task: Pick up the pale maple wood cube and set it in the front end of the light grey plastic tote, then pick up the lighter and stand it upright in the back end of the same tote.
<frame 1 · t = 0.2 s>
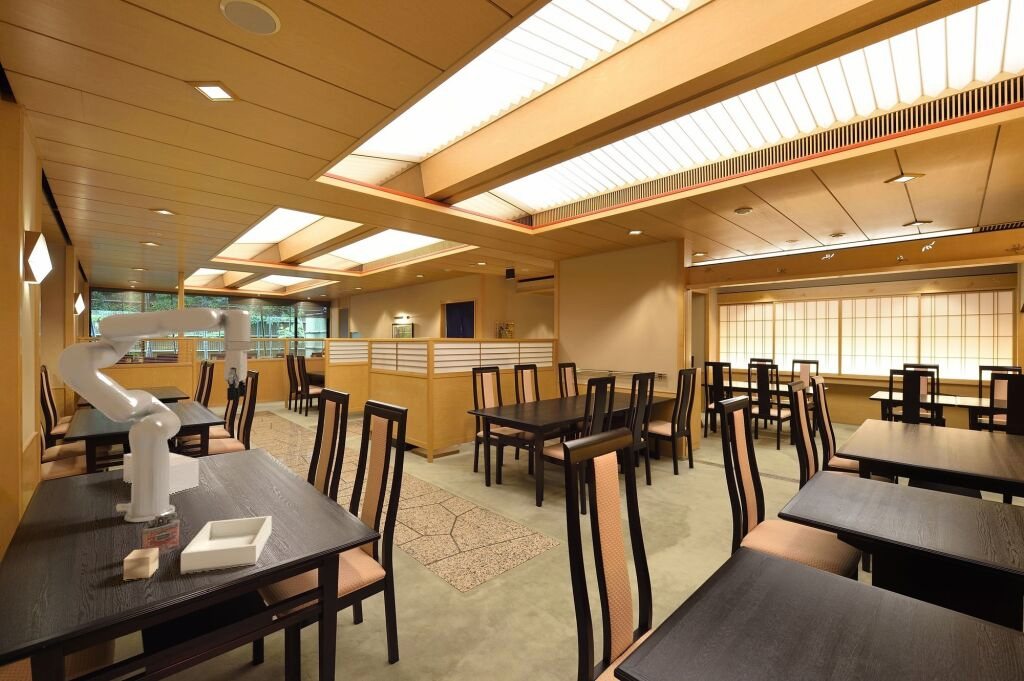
hand: (236, 398, 152), 37 cm above the table, tool pointing down, fingers open, 9 cm apart
tote: (230, 551, 121), on the table
white long block: (160, 485, 176), on the table
lighter: (161, 554, 120), on the table
cube: (141, 574, 110), on the table
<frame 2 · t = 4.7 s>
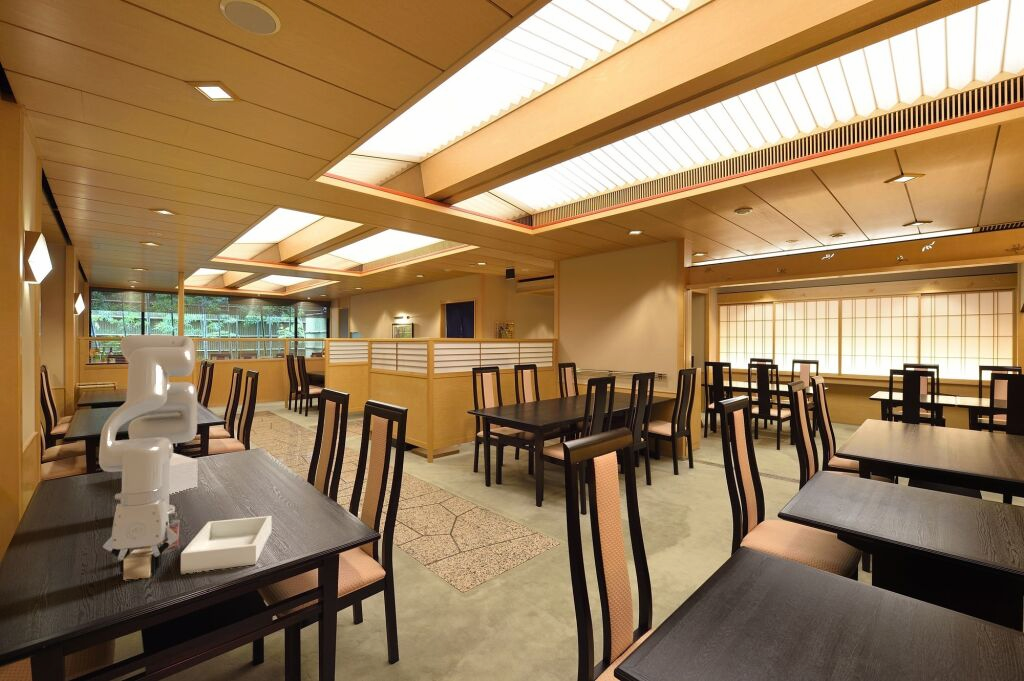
hand: (141, 571, 110), 1 cm above the table, tool pointing down, fingers closed on cube, 5 cm apart
cube: (141, 573, 110), on the table, touching gripper
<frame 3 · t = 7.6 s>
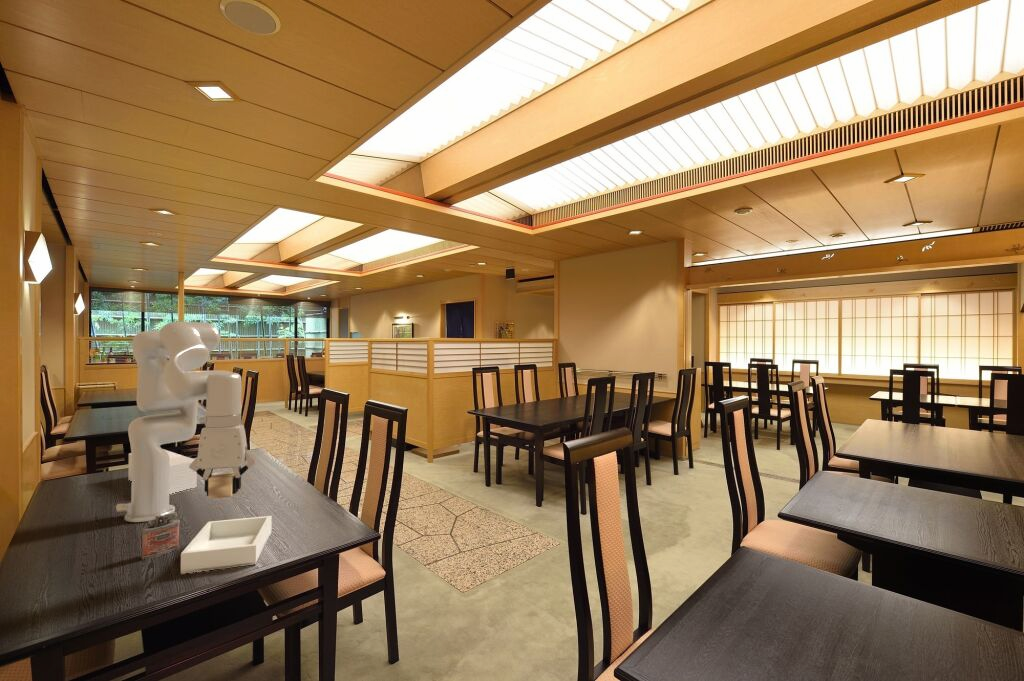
hand: (223, 492, 116), 18 cm above the table, tool pointing down, fingers closed on cube, 5 cm apart
cube: (222, 494, 116), point 17 cm above the table, touching gripper
everything else where it was.
when the fingers open (3 cm above the table, at t = 10.8 s): cube drops 1 cm, resting on tote.
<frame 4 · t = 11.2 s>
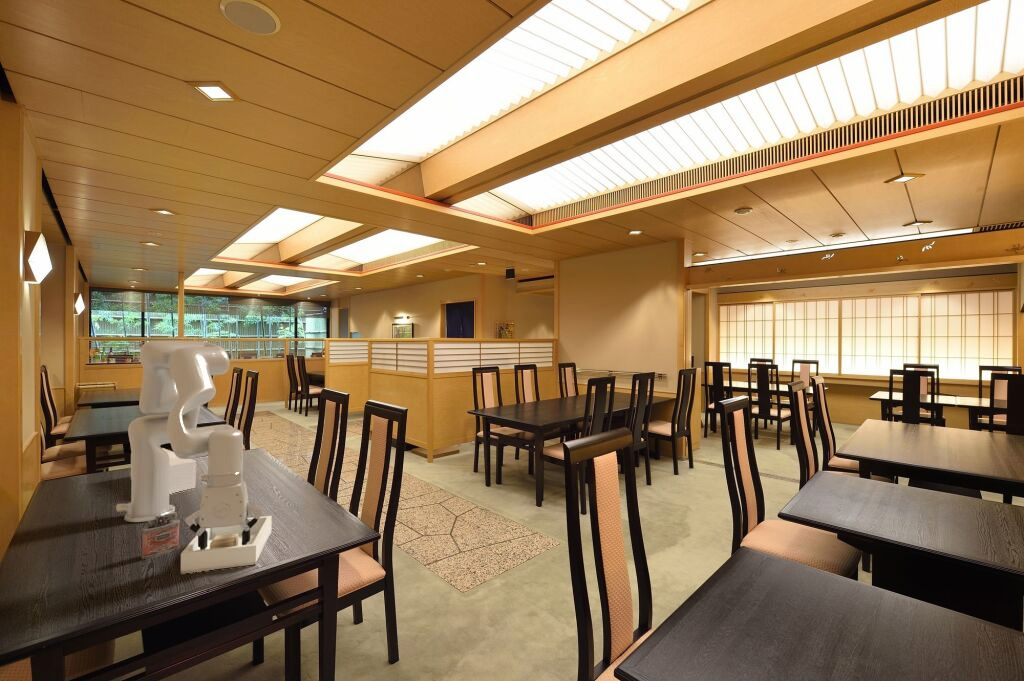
hand: (224, 546, 116), 4 cm above the table, tool pointing down, fingers open, 8 cm apart
cube: (224, 558, 116), point 1 cm above the table, touching tote
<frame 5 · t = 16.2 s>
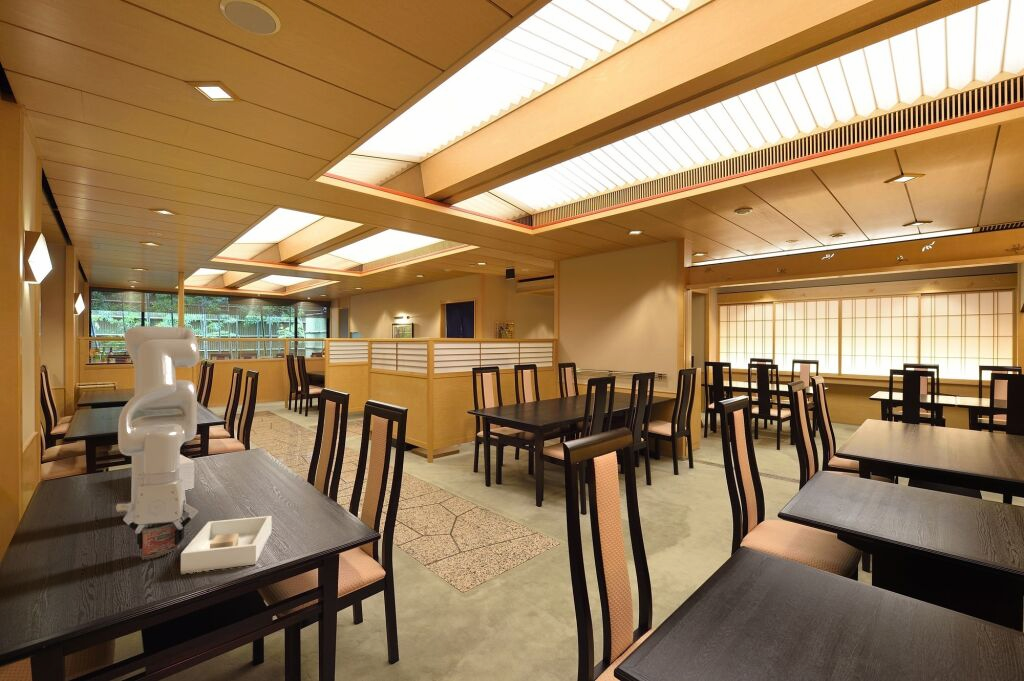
hand: (161, 544, 120), 2 cm above the table, tool pointing down, fingers closed on lighter, 7 cm apart
lighter: (161, 554, 120), on the table, touching gripper
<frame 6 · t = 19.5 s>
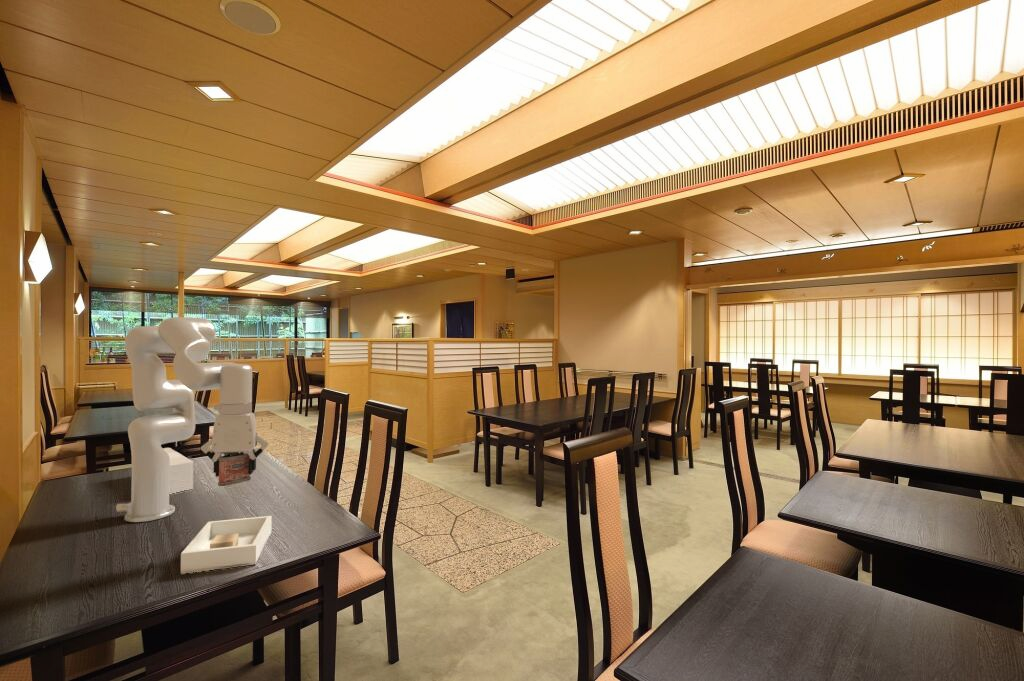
hand: (235, 473, 125), 20 cm above the table, tool pointing down, fingers closed on lighter, 7 cm apart
lighter: (234, 483, 125), point 17 cm above the table, touching gripper
when the fingers open (5 cm above the table, at t = 22.8 s): lighter drops 1 cm, resting on tote.
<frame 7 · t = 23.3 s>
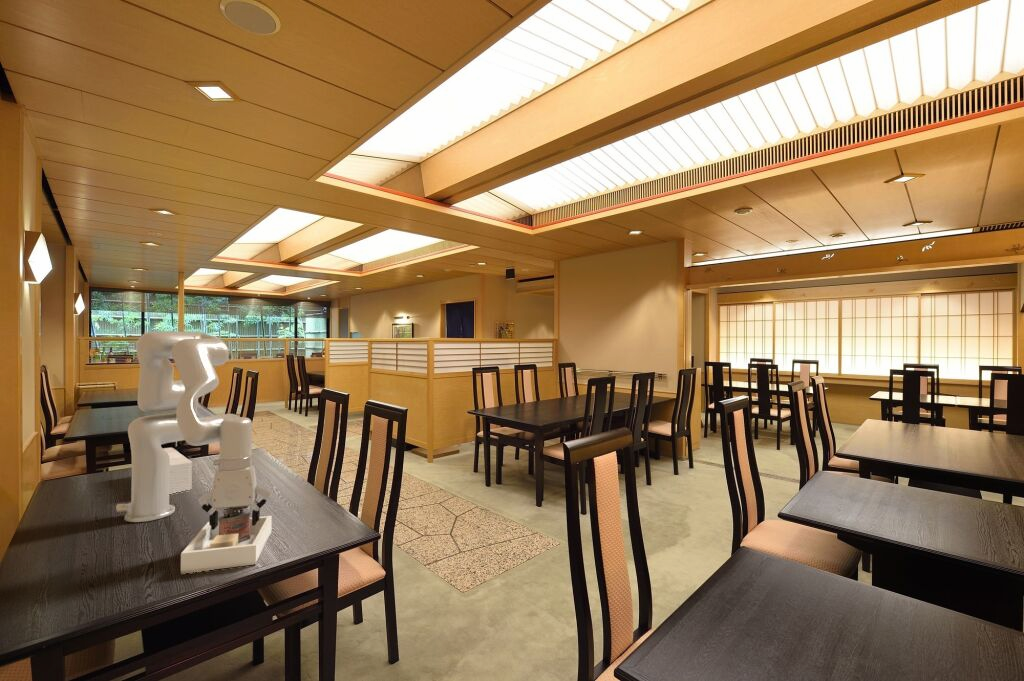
hand: (234, 525, 125), 5 cm above the table, tool pointing down, fingers open, 9 cm apart
lighter: (234, 542, 125), point 1 cm above the table, touching tote
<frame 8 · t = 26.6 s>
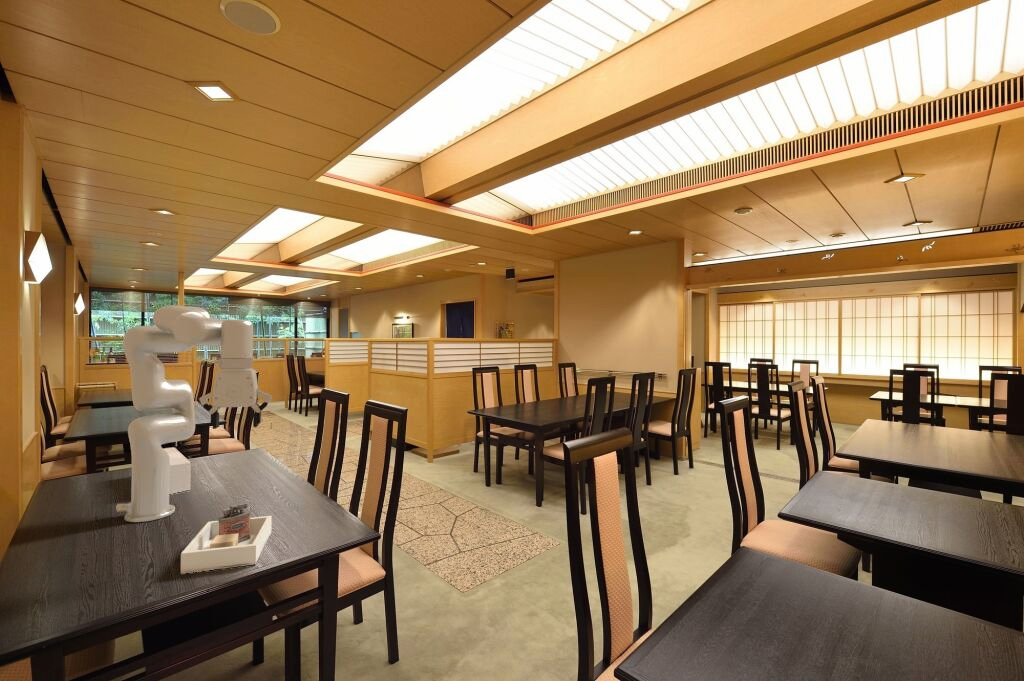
hand: (236, 427, 125), 32 cm above the table, tool pointing down, fingers open, 9 cm apart
at the end: cube inside the target area on the tote (5.5 cm from its centre), point 0.8 cm above the tote's base; lighter inside the target area on the tote (4.1 cm from its centre), point 0.6 cm above the tote's base; lighter tilted 0° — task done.
